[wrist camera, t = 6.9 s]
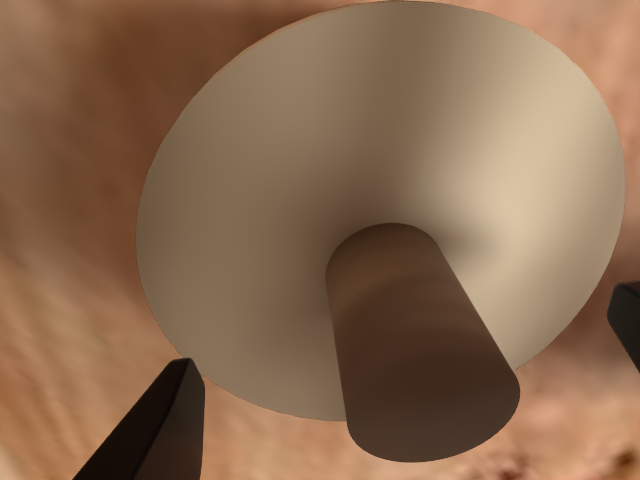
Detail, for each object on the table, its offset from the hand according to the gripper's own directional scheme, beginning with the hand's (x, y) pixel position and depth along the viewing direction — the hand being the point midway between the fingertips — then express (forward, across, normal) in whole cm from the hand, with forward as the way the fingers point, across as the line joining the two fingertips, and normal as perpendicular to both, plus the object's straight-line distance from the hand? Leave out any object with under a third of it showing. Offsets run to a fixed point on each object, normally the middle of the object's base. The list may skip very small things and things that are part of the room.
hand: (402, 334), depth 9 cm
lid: (+3, 0, 0) cm, 3 cm away
